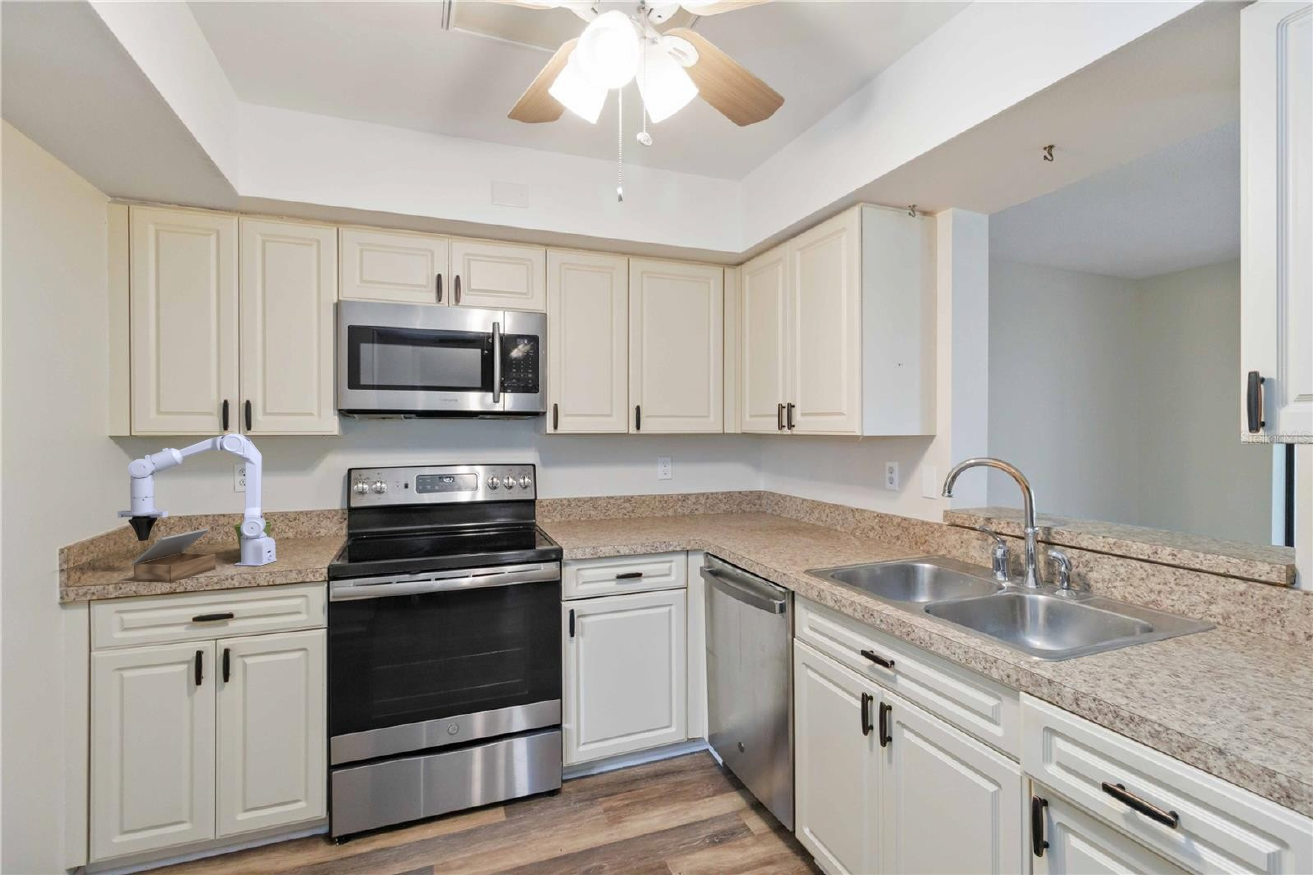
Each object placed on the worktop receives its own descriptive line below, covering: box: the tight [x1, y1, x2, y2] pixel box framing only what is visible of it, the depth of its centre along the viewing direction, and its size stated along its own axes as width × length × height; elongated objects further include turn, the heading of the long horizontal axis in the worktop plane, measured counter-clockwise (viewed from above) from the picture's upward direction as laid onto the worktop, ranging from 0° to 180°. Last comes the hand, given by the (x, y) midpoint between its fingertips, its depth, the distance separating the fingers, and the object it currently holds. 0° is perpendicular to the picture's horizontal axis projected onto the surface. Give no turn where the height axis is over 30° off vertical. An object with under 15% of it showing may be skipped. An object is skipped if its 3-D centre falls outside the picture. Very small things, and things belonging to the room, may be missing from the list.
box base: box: [133, 552, 217, 583], centre depth 186 cm, size 12×16×5 cm
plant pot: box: [232, 521, 273, 554], centre depth 215 cm, size 12×12×11 cm
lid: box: [132, 528, 210, 565], centre depth 186 cm, size 12×16×1 cm
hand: (143, 540), depth 188 cm, fingers closed
